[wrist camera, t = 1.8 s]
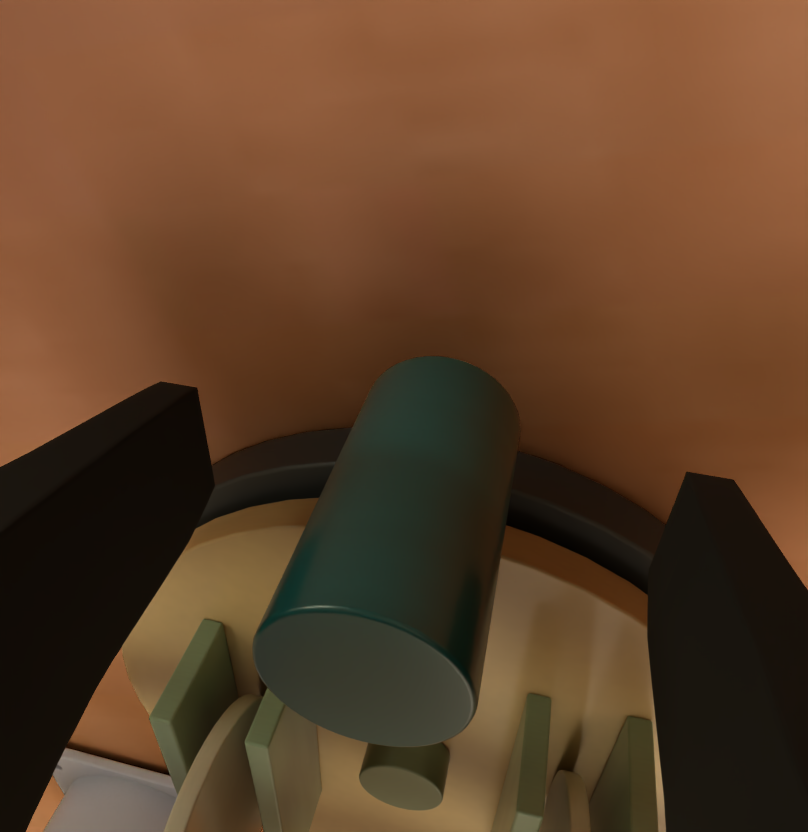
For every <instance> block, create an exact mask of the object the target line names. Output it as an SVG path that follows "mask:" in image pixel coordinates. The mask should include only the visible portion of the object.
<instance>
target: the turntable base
mask: <svg viewBox="0 0 808 832" xmlns="http://www.w3.org/2000/svg"><path fill="white" fill-rule="evenodd" d="M351 429H352V428H342V429H332V430H322V431H312V432H304V433H300V434H295V435H291V436H287V437H282V438H278V439H274V440H269V441H265V442H263V443H260V444H258V445H255V446H252V447H250V448H247V449H245V450H242V451H239V452H237V453H234V454H232V455H230V456H228V457H226V458H224V459H223V460H221V461H219V462H218V463H216V464H214V465H213V466H212V471H213V476H214V482H215V487H214V489H213V492H212V494H211V496H210V498H209V501H208V503H207V505H206V507H205V510H204V512H203V514H202V516H201V518H200V520H199V522H198V525H197V527H196V528H198V527H200V526H202V525H204V524H206V523H208V522H210V521H212V520H213V519H215V518H218V517H221V516H224V515H227V514H230V513H233V512H236V511H239V510H242V509H245V508H248V507H252V506H258V505H263V504H269V503H274V502H280V501H285V500H292V499H308V498H319V497H320V495H321V493H322V491H323V488H324V486H325V484H326V482H327V480H328V478H329V476H330V474H331V471H332V469H333V467H334V465H335V463H336V461H337V459H338V457H339V454H340V452H341V450H342V448H343V446H344V444H345V442H346V440H347V437H348V435H349V433H350V431H351ZM506 525H507V526H510V527H513V528H516V529H519V530H522V531H525V532H528V533H531V534H534V535H537V536H539V537H542V538H544V539H546V540H548V541H551V542H553V543H555V544H557V545H560V546H562V547H564V548H566V549H569V550H571V551H573V552H575V553H578V554H580V555H582V556H584V557H587V558H588V559H590V560H592V561H594V562H595V563H597V564H599V565H601V566H602V567H604V568H606V569H608V570H609V571H611V572H613V573H615V574H616V575H618V576H620V577H622V578H623V579H625V580H627V581H629V582H630V583H632V584H633V585H634V586H636V587H637V588H639V589H640V590H641V591H643V592H644V593H645V594H647V595H648V575H649V568H650V565H651V563H652V560H653V558H654V555H655V552H656V550H657V547H658V545H659V542H660V539H661V537H662V534H663V532H664V529H665V526H666V525H664V524H663V523H662V522H660V521H659V520H658V519H657V518H655V517H654V516H653V515H651V514H650V513H649V512H647V511H646V510H644V509H643V508H641V507H639V506H638V505H636V504H634V503H633V502H631V501H629V500H627V499H626V498H624V497H622V496H621V495H619V494H617V493H616V492H614V491H612V490H610V489H609V488H607V487H605V486H604V485H602V484H600V483H597V482H595V481H593V480H591V479H589V478H586V477H584V476H582V475H580V474H577V473H575V472H573V471H571V470H569V469H566V468H564V467H562V466H560V465H558V464H555V463H553V462H550V461H547V460H544V459H541V458H538V457H535V456H532V455H529V454H526V453H523V452H520V451H518V452H517V458H516V465H515V471H514V477H513V484H512V490H511V496H510V503H509V509H508V516H507V522H506Z"/></svg>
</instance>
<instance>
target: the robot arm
mask: <svg viewBox="0 0 808 832" xmlns="http://www.w3.org/2000/svg"><path fill="white" fill-rule="evenodd" d="M214 487H215V482H214V476H213V471H212V465H211V460H210V455H209V449H208V444H207V438H206V433H205V428H204V422H203V417H202V411H201V406H200V401H199V395H198V390H197V388H196V387H190V386H184V385H179V384H173V383H167V382H159V383H156V384H154V385H152V386H150V387H148V388H146V389H144V390H142V391H140V392H138V393H136V394H135V395H133V396H131V397H129V398H127V399H125V400H123V401H122V402H120V403H118V404H116V405H114V406H113V407H111V408H109V409H107V410H105V411H104V412H102V413H100V414H98V415H96V416H95V417H93V418H91V419H89V420H87V421H86V422H84V423H82V424H80V425H78V426H77V427H75V428H73V429H71V430H69V431H67V432H66V433H64V434H62V435H60V436H58V437H57V438H55V439H53V440H51V441H49V442H47V443H46V444H44V445H42V446H40V447H38V448H37V449H35V450H33V451H31V452H29V453H27V454H25V455H23V456H21V457H19V458H17V459H15V460H13V461H11V462H9V463H7V464H6V465H4V466H2V467H0V832H26V830H27V828H28V825H29V823H30V821H31V819H32V816H33V814H34V812H35V810H36V808H37V806H38V804H39V802H40V800H41V798H42V796H43V793H44V791H45V789H46V787H47V785H48V783H49V781H50V779H51V777H52V775H53V776H54V778H55V780H56V781H57V783H58V785H59V786H60V788H61V790H62V792H63V793H64V797H63V799H62V800H61V802H60V804H59V805H58V807H57V809H56V810H55V812H54V814H53V815H52V817H51V819H50V820H49V822H48V824H47V826H46V827H45V829H44V831H43V832H164V829H165V826H166V823H167V821H168V818H169V816H170V813H171V811H172V808H173V806H174V803H175V801H176V798H177V796H178V795H177V793H176V790H175V787H174V785H173V782H172V779H171V776H169V775H165V774H162V773H158V772H154V771H150V770H147V769H143V768H139V767H136V766H132V765H128V764H125V763H121V762H117V761H113V760H110V759H106V758H102V757H99V756H95V755H91V754H87V753H84V752H80V751H76V750H73V749H69V748H66V746H67V744H68V742H69V740H70V738H71V736H72V734H73V732H74V730H75V728H76V727H77V725H78V723H79V721H80V719H81V717H82V715H83V713H84V711H85V709H86V707H87V705H88V703H89V701H90V699H91V697H92V695H93V693H94V692H95V690H96V688H97V686H98V685H99V683H100V681H101V679H102V678H103V676H104V674H105V673H106V671H107V669H108V668H109V666H110V664H111V663H112V661H113V659H114V658H115V656H116V655H117V653H118V652H119V650H120V649H121V647H122V645H123V644H124V642H125V641H126V639H127V638H128V636H129V635H130V633H131V632H132V630H133V628H134V627H135V625H136V624H137V622H138V621H139V619H140V618H141V616H142V615H143V613H144V612H145V610H146V608H147V607H148V605H149V604H150V602H151V601H152V599H153V598H154V596H155V595H156V593H157V592H158V590H159V588H160V587H161V585H162V584H163V582H164V581H165V579H166V578H167V576H168V574H169V573H170V571H171V570H172V568H173V566H174V565H175V563H176V562H177V560H178V559H179V557H180V555H181V554H182V552H183V551H184V549H185V547H186V546H187V544H188V543H189V541H190V539H191V537H192V535H193V533H194V531H195V529H196V527H197V525H198V522H199V520H200V518H201V516H202V514H203V512H204V510H205V507H206V505H207V503H208V501H209V498H210V496H211V494H212V492H213V489H214ZM647 641H648V651H649V662H650V671H651V681H652V691H653V701H654V710H655V719H656V729H657V738H658V747H659V757H660V766H661V775H662V785H663V794H664V808H665V823H666V832H808V590H807V588H806V587H805V586H804V584H803V583H802V581H801V580H800V578H799V577H798V576H797V574H796V573H795V571H794V570H793V568H792V567H791V565H790V564H789V562H788V561H787V559H786V558H785V556H784V555H783V553H782V552H781V550H780V549H779V547H778V546H777V544H776V543H775V541H774V540H773V538H772V537H771V535H770V534H769V532H768V531H767V529H766V528H765V526H764V525H763V523H762V522H761V520H760V519H759V517H758V515H757V514H756V512H755V511H754V509H753V508H752V506H751V505H750V503H749V502H748V500H747V499H746V497H745V496H744V494H743V493H742V491H741V490H740V488H739V487H738V485H737V484H736V482H735V481H734V480H732V479H726V478H720V477H715V476H709V475H703V474H697V473H691V472H686V475H685V477H684V480H683V482H682V485H681V488H680V490H679V493H678V495H677V498H676V501H675V503H674V506H673V508H672V511H671V513H670V516H669V519H668V521H667V524H666V526H665V529H664V532H663V534H662V537H661V539H660V542H659V545H658V547H657V550H656V552H655V555H654V558H653V560H652V563H651V565H650V568H649V575H648V608H647Z"/></svg>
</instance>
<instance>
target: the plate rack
mask: <svg viewBox="0 0 808 832" xmlns="http://www.w3.org/2000/svg"><path fill="white" fill-rule="evenodd" d="M520 430H521V428H520V419H519V415H518V411H517V409H516V406H515V404H514V402H513V400H512V399H511V397H510V395H509V394H508V392H507V391H506V390H505V389H504V387H503V386H502V385H501V384H500V383H499V382H498V381H497V380H496V379H495V378H493V377H492V376H491V375H489V374H488V373H487V372H485V371H483V370H482V369H480V368H478V367H476V366H474V365H472V364H470V363H467V362H464V361H461V360H458V359H454V358H449V357H441V356H424V357H416V358H412V359H409V360H405V361H403V362H400V363H398V364H396V365H394V366H392V367H391V368H389V369H388V370H386V371H385V372H384V373H383V374H381V375H380V376H379V377H378V379H377V380H376V381H375V382H374V384H373V385H372V387H371V389H370V391H369V393H368V395H367V397H366V399H365V401H364V403H363V406H362V408H361V410H360V412H359V414H358V416H357V418H356V420H355V423H354V425H353V427H352V429H351V431H350V433H349V435H348V437H347V440H346V442H345V444H344V446H343V448H342V450H341V452H340V454H339V457H338V459H337V461H336V463H335V465H334V467H333V469H332V471H331V474H330V476H329V478H328V480H327V482H326V484H325V486H324V488H323V491H322V493H321V495H320V497H319V498H308V499H292V500H285V501H280V502H274V503H269V504H263V505H258V506H252V507H248V508H245V509H242V510H239V511H236V512H233V513H230V514H227V515H224V516H221V517H218V518H215V519H213V520H212V521H210V522H208V523H206V524H204V525H202V526H200V527H198V528H196V529H195V531H194V533H193V535H192V537H191V539H190V541H189V543H188V544H187V546H186V547H185V549H184V551H183V552H182V554H181V555H180V557H179V559H178V560H177V562H176V563H175V565H174V566H173V568H172V570H171V571H170V573H169V574H168V576H167V578H166V579H165V581H164V582H163V584H162V585H161V587H160V588H159V590H158V592H157V593H156V595H155V596H154V598H153V599H152V601H151V602H150V604H149V605H148V607H147V608H146V610H145V612H144V613H143V615H142V616H141V618H140V619H139V621H138V622H137V624H136V625H135V627H134V628H133V630H132V632H131V633H130V635H129V636H128V638H127V639H126V641H125V642H124V644H123V645H122V653H123V659H124V663H125V666H126V670H127V673H128V677H129V679H130V681H131V683H132V686H133V688H134V690H135V692H136V694H137V696H138V698H139V700H140V701H141V703H142V704H143V706H144V707H145V709H146V710H147V712H148V713H149V715H150V716H149V720H150V723H151V725H152V728H153V731H154V733H155V736H156V739H157V741H158V744H159V747H160V749H161V752H162V755H163V758H164V760H165V763H166V766H167V768H168V771H169V774H170V776H171V779H172V782H173V785H174V787H175V790H176V793H177V795H178V796H177V798H176V801H175V803H174V806H173V808H172V811H171V813H170V816H169V818H168V821H167V823H166V826H165V829H164V832H260V831H261V828H262V825H263V830H264V832H666V823H665V808H664V794H663V785H662V775H661V766H660V757H659V747H658V738H657V729H656V719H655V710H654V701H653V691H652V681H651V671H650V662H649V651H648V641H647V608H648V595H647V594H645V593H644V592H643V591H641V590H640V589H639V588H637V587H636V586H634V585H633V584H632V583H630V582H629V581H627V580H625V579H623V578H622V577H620V576H618V575H616V574H615V573H613V572H611V571H609V570H608V569H606V568H604V567H602V566H601V565H599V564H597V563H595V562H594V561H592V560H590V559H588V558H587V557H584V556H582V555H580V554H578V553H575V552H573V551H571V550H569V549H566V548H564V547H562V546H560V545H557V544H555V543H553V542H551V541H548V540H546V539H544V538H542V537H539V536H537V535H534V534H531V533H528V532H525V531H522V530H519V529H516V528H513V527H510V526H507V525H506V522H507V516H508V509H509V503H510V496H511V490H512V484H513V477H514V471H515V465H516V458H517V452H518V446H519V439H520Z"/></svg>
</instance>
